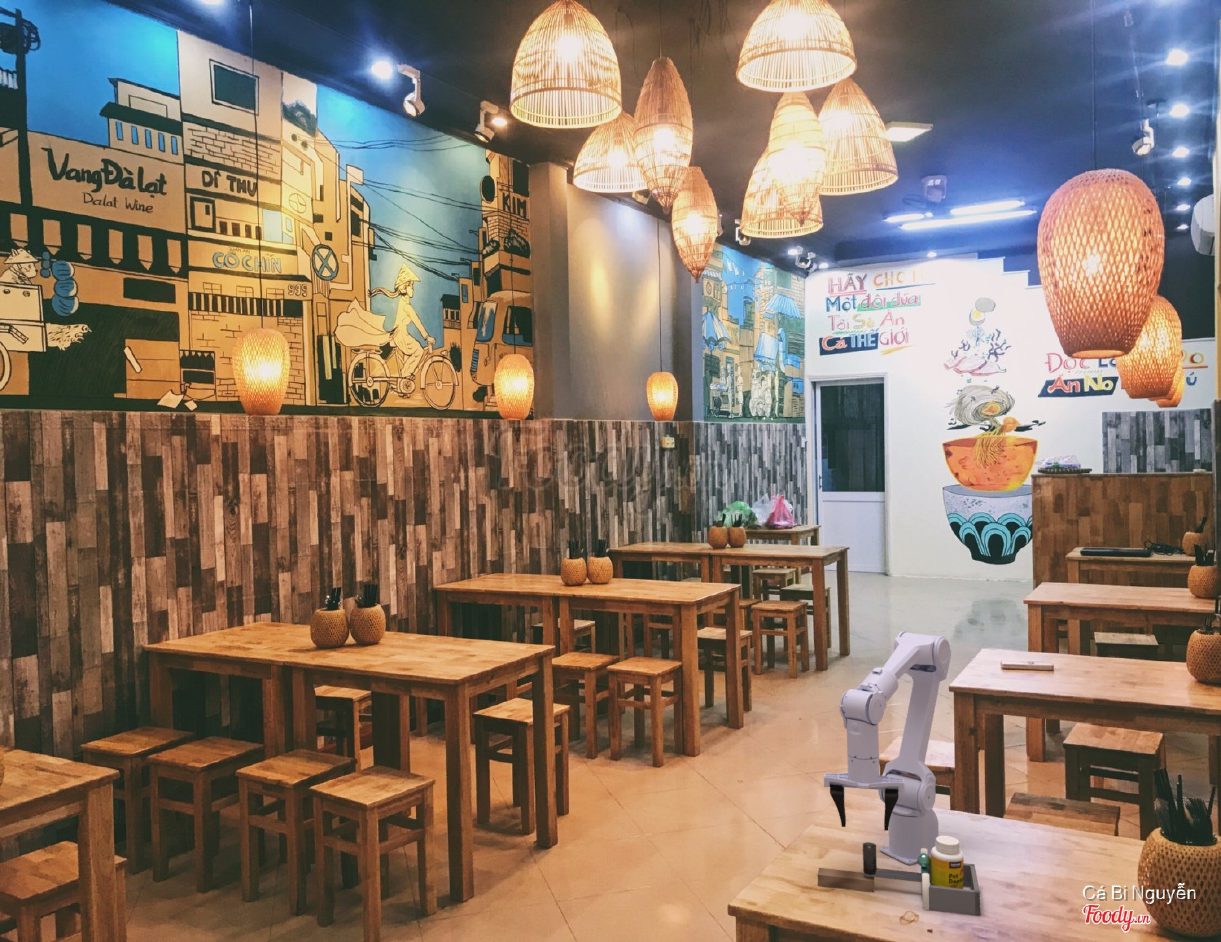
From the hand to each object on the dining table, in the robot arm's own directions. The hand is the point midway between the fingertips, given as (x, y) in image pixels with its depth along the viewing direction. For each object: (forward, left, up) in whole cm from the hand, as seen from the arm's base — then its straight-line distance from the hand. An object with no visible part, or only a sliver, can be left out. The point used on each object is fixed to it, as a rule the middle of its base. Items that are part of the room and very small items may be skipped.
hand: (864, 826), depth 170 cm
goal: (-8, +12, -10) cm, 18 cm away
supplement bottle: (-8, +12, -11) cm, 18 cm away
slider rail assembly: (-2, +6, -10) cm, 12 cm away
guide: (+4, -1, -10) cm, 11 cm away
